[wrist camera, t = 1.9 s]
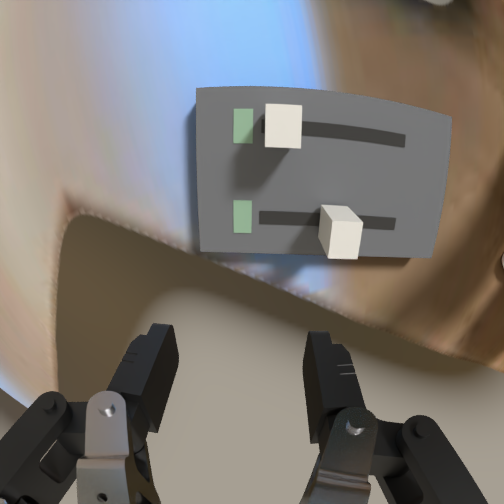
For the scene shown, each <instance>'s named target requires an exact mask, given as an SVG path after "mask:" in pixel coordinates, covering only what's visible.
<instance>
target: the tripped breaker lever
mask: <svg viewBox="0 0 504 504" xmlns="http://www.w3.org/2000/svg"><path fill="white" fill-rule="evenodd" d="M362 228H363V222H362V221H361V220H360V219H359V217H358V216H357V215H356V214H355V213H354V212H353V211H352V210H351V209H350V208H349V207H348V206H336V205H321V212H320V223H319V233H318V238H319V240H320V242H321V244H322V246H323V249H324V251H325V253H326V255H327V257H328V258H329V259H358V253H359V247H360V241H361V234H362Z"/></svg>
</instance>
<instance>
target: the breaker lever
mask: <svg viewBox="0 0 504 504" xmlns="http://www.w3.org/2000/svg"><path fill="white" fill-rule="evenodd" d="M301 131H302V105H288V104H266V107H265V147H279V148H300V149H301Z"/></svg>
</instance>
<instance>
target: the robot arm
mask: <svg viewBox="0 0 504 504" xmlns="http://www.w3.org/2000/svg"><path fill="white" fill-rule="evenodd" d="M178 363H179V353H178V349H177V344H176V338H175V333H174V328H173V326H172V325H167V324H157V323H153V324H152V326H151V328H150V330H149V332H148V334H147V335H139V336H138V337H137V338H136V339H135V340H133V341H132V342H131V344H130V346H129V347H128V349H127V351H126V354H125V355H124V357H123V359H122V362H121V363H120V364H119V366H118V368H117V370H116V373H115V374H114V376H113V378H112V380H111V382H110V384H109V386H108V388H107V390H106V391H102V392H99V393H97V394H95V395H94V396H92V397H91V399H90V400H89V401H88V402H67V401H66V399H65V398H64V396H63V395H62V394H60V393H58V392H54V391H50V392H46V393H44V394H42V395H40V396H39V397H38V398H37V399H36V401H35V402H34V403H33V404H32V405H31V406H30V407H29V408H28V409H27V410H26V411H25V413H24V414H23V415H22V416H21V417H20V418H19V419H18V420H17V422H16V423H15V424H14V425H13V426H12V427H11V429H10V430H9V431H8V432H7V433H6V434H5V435H4V437H3V438H2V439H1V440H0V504H59V502H60V501H61V499H62V498H63V497H64V495H65V494H66V492H67V491H68V489H69V488H70V486H71V485H72V484H73V482H74V481H75V479H76V478H77V498H78V504H161V501H160V498H159V496H158V493H157V491H156V489H155V486H154V482H153V477H152V471H151V466H150V459H149V453H148V446H147V442H146V437H147V434H148V431H149V432H154V433H158V430H159V427H160V424H161V420H162V417H163V413H164V410H165V407H166V403H167V400H168V397H169V394H170V391H171V387H172V384H173V381H174V378H175V375H176V372H177V368H178ZM303 380H304V388H305V396H306V406H307V414H308V424H309V433H310V443H311V444H313V443H319V449H320V453H319V455H318V457H317V460H316V463H315V466H314V468H313V471H312V474H311V477H310V479H309V482H308V484H307V487H306V489H305V492H304V494H303V496H302V499H301V501H300V503H299V504H368V500H369V496H370V491H371V484H370V483H369V482H368V476H369V475H374V476H375V477H376V479H377V481H378V483H379V485H380V487H381V489H382V491H383V493H384V495H385V497H386V499H387V502H388V503H389V504H488V503H487V501H486V499H485V497H484V496H483V494H482V493H481V491H480V489H479V488H478V486H477V484H476V483H475V481H474V480H473V478H472V476H471V475H470V473H469V471H468V470H467V468H466V467H465V465H464V464H463V462H462V461H461V459H460V457H459V456H458V454H457V453H456V451H455V450H454V448H453V447H452V445H451V444H450V442H449V441H448V439H447V438H446V437H445V435H444V433H443V432H442V430H441V429H440V428H439V426H438V425H437V423H436V422H435V421H434V420H433V419H431V418H430V417H427V416H424V415H416V416H413V417H411V418H409V419H408V420H407V421H406V422H405V423H404V424H403V423H394V422H386V421H382V420H379V419H377V418H376V417H375V415H374V414H373V413H372V412H370V411H369V410H367V409H366V407H365V404H364V400H363V396H362V393H361V389H360V386H359V383H358V379H357V376H356V374H355V369H354V366H353V363H352V360H351V356H350V353H349V352H348V351H347V350H346V349H345V347H344V346H343V345H342V344H332V341H331V338H330V334H329V332H328V331H309V332H308V335H307V341H306V347H305V353H304V358H303ZM55 440H57V441H56V443H55V444H54V445H53V446H52V448H51V449H50V450H49V452H48V453H47V454H46V455H45V457H44V458H43V459H42V460H41V458H42V457H43V455H44V454H45V453H46V452H47V451H48V449H49V448H50V447H51V445H52V444H53V443H54V442H55ZM40 460H41V462H40Z"/></svg>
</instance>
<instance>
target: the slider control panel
mask: <svg viewBox="0 0 504 504" xmlns="http://www.w3.org/2000/svg"><path fill="white" fill-rule="evenodd" d="M266 104H288V105H302V131H301V149H300V148H279V147H265V107H266ZM451 128H452V117H450V116H447V115H444V114H440V113H437V112H434V111H430V110H426V109H423V108H419V107H415V106H411V105H407V104H402V103H398V102H393V101H389V100H384V99H379V98H373V97H368V96H362V95H355V94H349V93H341V92H334V91H325V90H315V89H304V88H289V87H265V86H229V87H205V88H196V163H197V196H198V219H199V238H200V252H231V253H266V254H301V255H326V253H325V251H324V249H323V246H322V244H321V242H320V240H319V238H318V233H319V223H320V212H321V205H336V206H348V207H349V208H350V209H351V210H352V211H353V212H354V213H355V214H356V215H357V216H358V217H359V219H360V220H361V221H362V222H363V228H362V234H361V241H360V247H359V253H358V256H372V257H408V258H431V257H432V253H433V249H434V245H435V241H436V237H437V232H438V227H439V223H440V218H441V212H442V207H443V201H444V195H445V189H446V182H447V174H448V165H449V156H450V144H451Z"/></svg>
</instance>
